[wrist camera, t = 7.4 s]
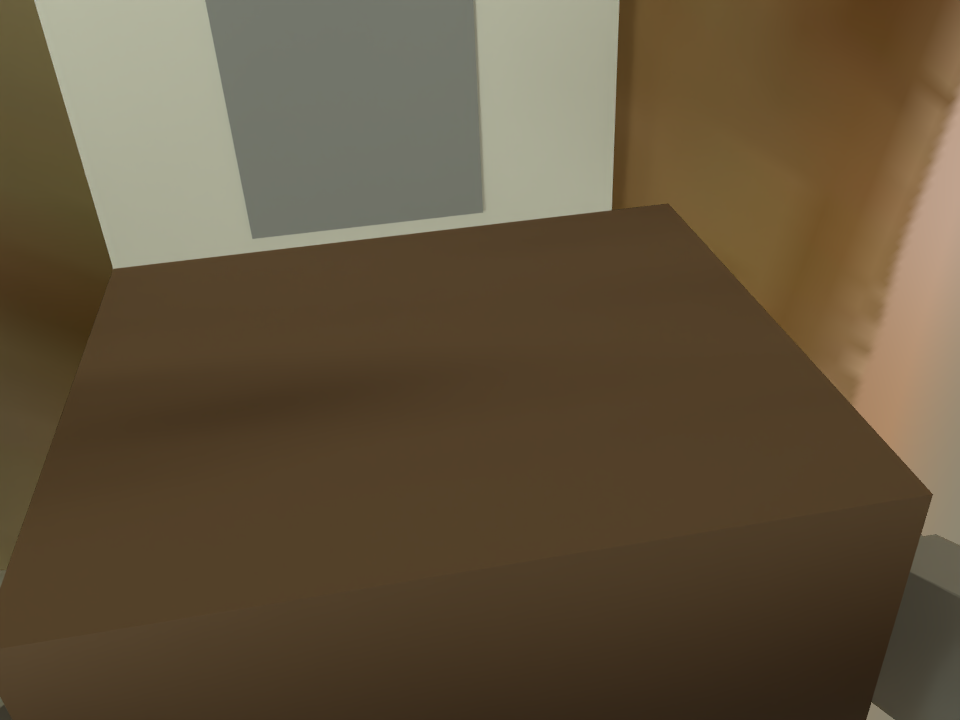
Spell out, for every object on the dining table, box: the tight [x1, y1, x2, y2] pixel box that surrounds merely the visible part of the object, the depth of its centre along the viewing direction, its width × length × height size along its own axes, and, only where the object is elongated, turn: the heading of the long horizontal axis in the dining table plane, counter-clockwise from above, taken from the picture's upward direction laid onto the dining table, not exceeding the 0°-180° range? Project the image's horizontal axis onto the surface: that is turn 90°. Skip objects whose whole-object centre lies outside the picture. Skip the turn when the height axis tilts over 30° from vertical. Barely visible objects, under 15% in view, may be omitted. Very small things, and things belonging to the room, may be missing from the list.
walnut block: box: [0, 204, 933, 720], centre depth 9 cm, size 6×6×5 cm
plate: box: [34, 0, 619, 269], centre depth 24 cm, size 14×14×1 cm
